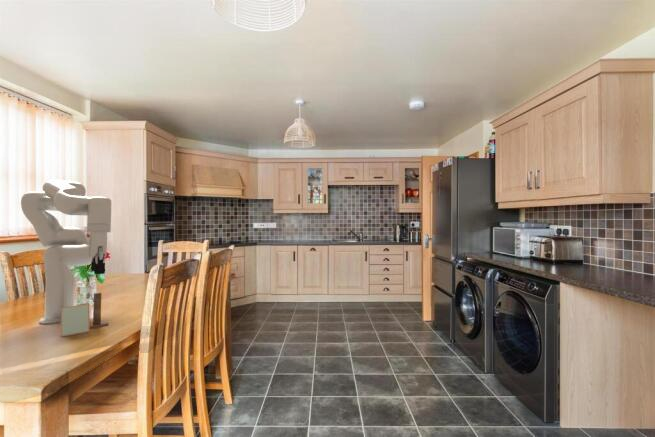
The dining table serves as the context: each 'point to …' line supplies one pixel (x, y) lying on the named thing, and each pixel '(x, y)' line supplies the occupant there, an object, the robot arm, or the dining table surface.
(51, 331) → the dining table surface
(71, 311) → the tile
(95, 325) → the tool
